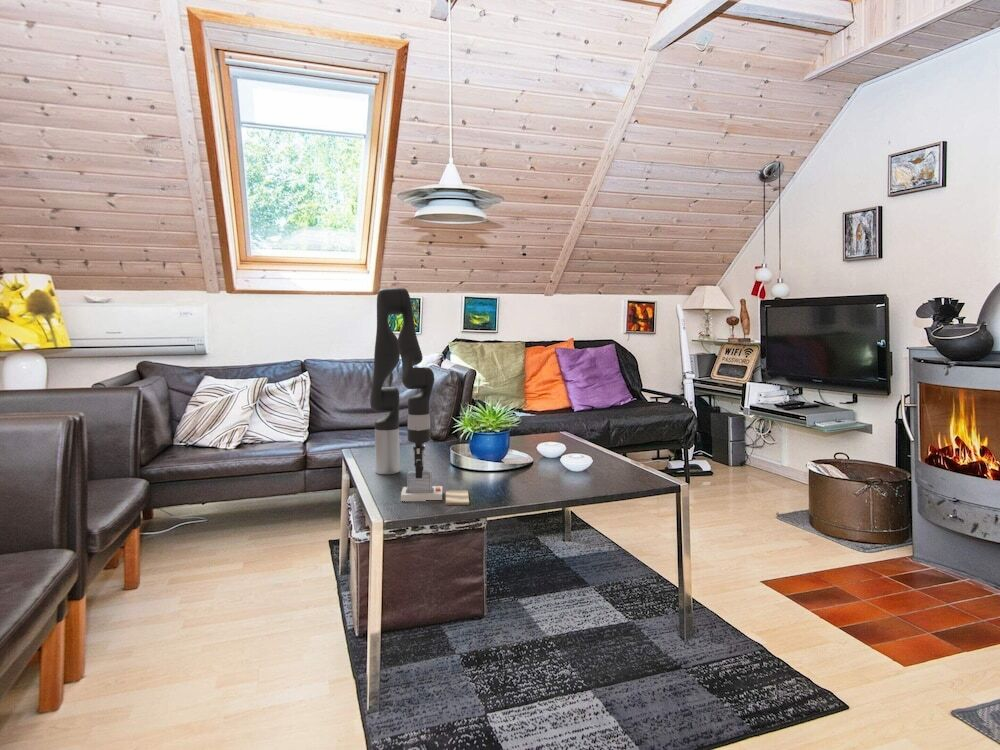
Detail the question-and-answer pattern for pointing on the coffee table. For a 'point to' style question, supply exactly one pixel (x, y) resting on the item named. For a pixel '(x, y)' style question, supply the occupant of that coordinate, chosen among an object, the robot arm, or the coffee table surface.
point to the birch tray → (457, 497)
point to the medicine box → (419, 482)
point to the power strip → (422, 494)
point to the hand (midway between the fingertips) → (419, 474)
